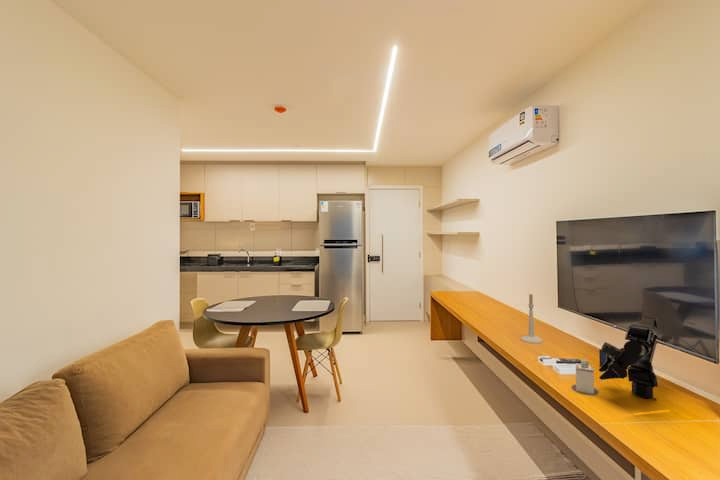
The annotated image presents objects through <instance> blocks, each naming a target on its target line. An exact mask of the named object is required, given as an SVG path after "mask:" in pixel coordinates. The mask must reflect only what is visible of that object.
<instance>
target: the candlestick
mask: <svg viewBox="0 0 720 480" xmlns="http://www.w3.org/2000/svg"><path fill="white" fill-rule="evenodd" d="M528 297H529V298H528V300H529V301H528V302H529V303H528V304H527V305H528V308H529V310H528V311H529V312H528V315H529V316H528V334H527V335H523V336H521V337H520V341H522V342H524V343H528V344H541V343H543V342H544V341H543V339H542V338H541V337H539V336H537V335H535V325H534V324H535V323H534V311H533V308H534V306H535V305H534V303H533V301H534V300H533V297H534V296H533V294H528Z"/></svg>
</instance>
